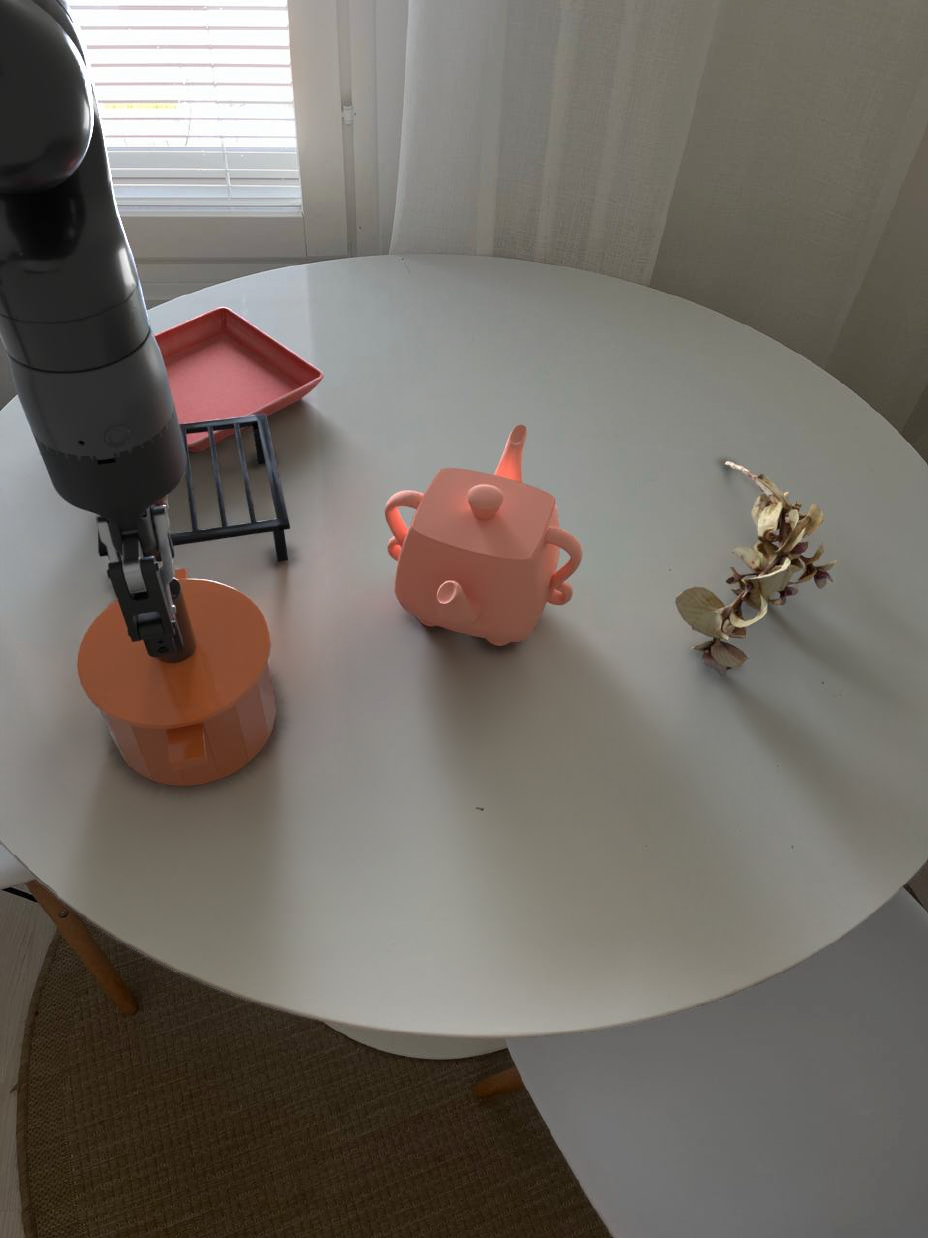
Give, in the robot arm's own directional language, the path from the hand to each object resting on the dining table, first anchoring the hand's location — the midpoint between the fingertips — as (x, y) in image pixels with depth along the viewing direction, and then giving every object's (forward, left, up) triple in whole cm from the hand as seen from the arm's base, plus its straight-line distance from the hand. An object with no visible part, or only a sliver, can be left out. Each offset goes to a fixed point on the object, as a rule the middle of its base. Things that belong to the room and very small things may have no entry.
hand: (162, 603), depth 61 cm
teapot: (+25, +7, -14) cm, 29 cm away
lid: (0, 0, -5) cm, 5 cm away
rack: (+2, +23, -14) cm, 27 cm away
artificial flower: (+51, +6, -14) cm, 53 cm away
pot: (0, 0, -14) cm, 14 cm away
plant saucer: (+5, +42, -14) cm, 45 cm away
